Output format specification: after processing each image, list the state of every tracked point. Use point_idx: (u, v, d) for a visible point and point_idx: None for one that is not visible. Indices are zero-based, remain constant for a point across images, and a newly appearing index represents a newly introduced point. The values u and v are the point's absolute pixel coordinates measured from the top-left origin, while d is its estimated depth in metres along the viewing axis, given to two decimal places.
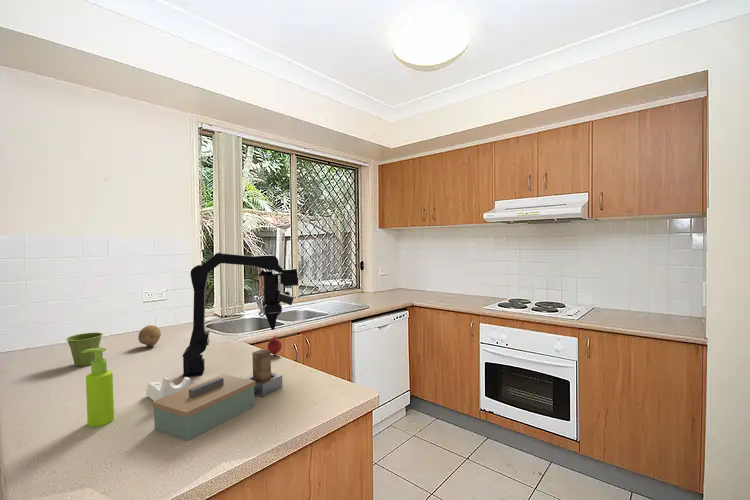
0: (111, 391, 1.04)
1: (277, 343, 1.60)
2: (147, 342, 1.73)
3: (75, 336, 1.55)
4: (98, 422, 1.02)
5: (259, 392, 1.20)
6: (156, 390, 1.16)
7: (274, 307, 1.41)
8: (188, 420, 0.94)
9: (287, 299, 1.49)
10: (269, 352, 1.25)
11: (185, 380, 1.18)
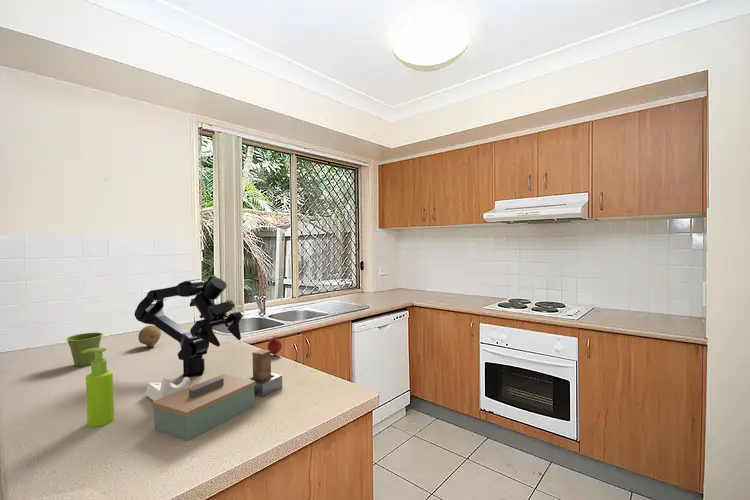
0: (111, 391, 1.04)
1: (277, 343, 1.60)
2: (147, 342, 1.73)
3: (75, 336, 1.55)
4: (98, 422, 1.02)
5: (259, 392, 1.20)
6: (156, 390, 1.16)
7: (194, 326, 1.27)
8: (188, 420, 0.94)
9: (216, 308, 1.32)
10: (269, 352, 1.25)
11: (185, 380, 1.18)
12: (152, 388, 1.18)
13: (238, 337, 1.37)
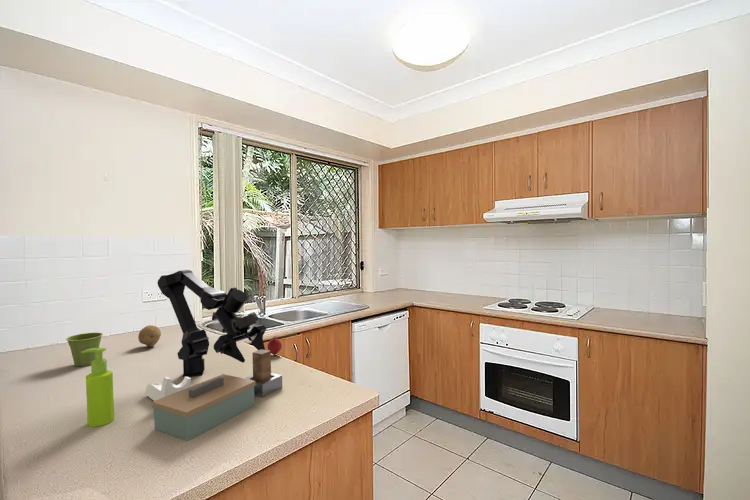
0: (111, 391, 1.04)
1: (277, 343, 1.60)
2: (147, 342, 1.73)
3: (75, 336, 1.55)
4: (98, 422, 1.02)
5: (259, 392, 1.20)
6: (156, 390, 1.16)
7: (217, 342, 1.21)
8: (188, 420, 0.94)
9: (240, 322, 1.25)
10: (269, 352, 1.25)
11: (186, 379, 1.19)
12: (152, 388, 1.18)
13: None
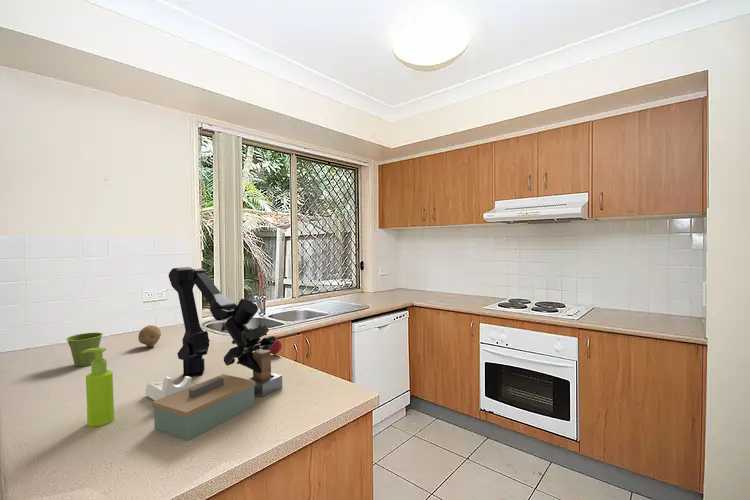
0: (111, 391, 1.04)
1: (277, 343, 1.60)
2: (147, 342, 1.73)
3: (75, 336, 1.55)
4: (98, 422, 1.02)
5: (259, 392, 1.20)
6: (157, 390, 1.16)
7: (227, 354, 1.19)
8: (188, 420, 0.94)
9: (250, 334, 1.23)
10: (269, 352, 1.25)
11: (186, 379, 1.19)
12: (152, 388, 1.18)
13: None
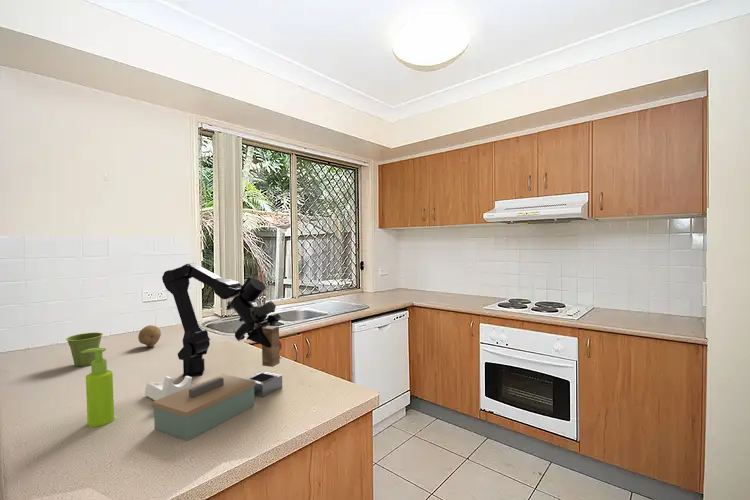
0: (111, 391, 1.04)
1: None
2: (147, 342, 1.73)
3: (75, 336, 1.55)
4: (98, 422, 1.02)
5: (259, 392, 1.20)
6: (157, 389, 1.17)
7: (239, 330, 1.22)
8: (188, 420, 0.94)
9: (260, 310, 1.27)
10: (278, 328, 1.29)
11: (187, 379, 1.19)
12: (152, 388, 1.19)
13: None
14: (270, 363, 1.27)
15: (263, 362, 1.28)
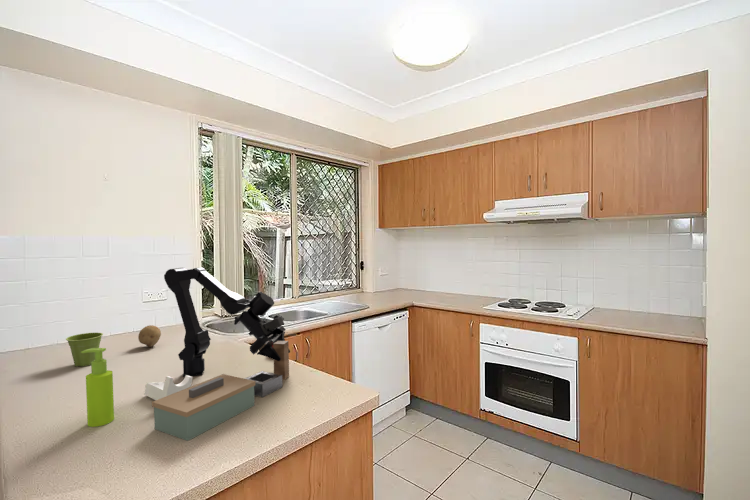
0: (111, 391, 1.04)
1: None
2: (147, 342, 1.73)
3: (75, 336, 1.55)
4: (98, 422, 1.02)
5: (259, 392, 1.20)
6: (158, 389, 1.17)
7: (255, 344, 1.27)
8: (188, 420, 0.94)
9: (271, 324, 1.33)
10: (287, 342, 1.37)
11: (187, 378, 1.20)
12: (152, 388, 1.19)
13: None
14: (283, 376, 1.34)
15: None
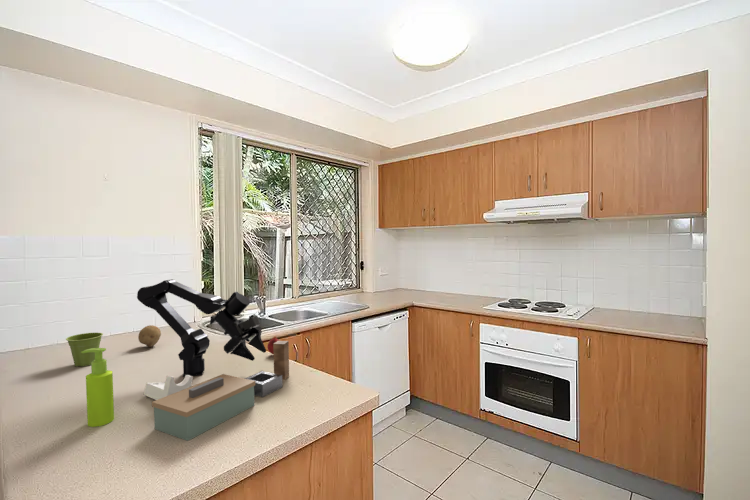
0: (111, 391, 1.04)
1: None
2: (147, 342, 1.73)
3: (75, 336, 1.55)
4: (98, 422, 1.02)
5: (259, 392, 1.20)
6: (158, 389, 1.17)
7: (229, 343, 1.28)
8: (188, 420, 0.94)
9: (246, 324, 1.35)
10: (288, 342, 1.37)
11: (187, 378, 1.20)
12: (152, 387, 1.19)
13: (263, 350, 1.41)
14: (283, 376, 1.34)
15: None
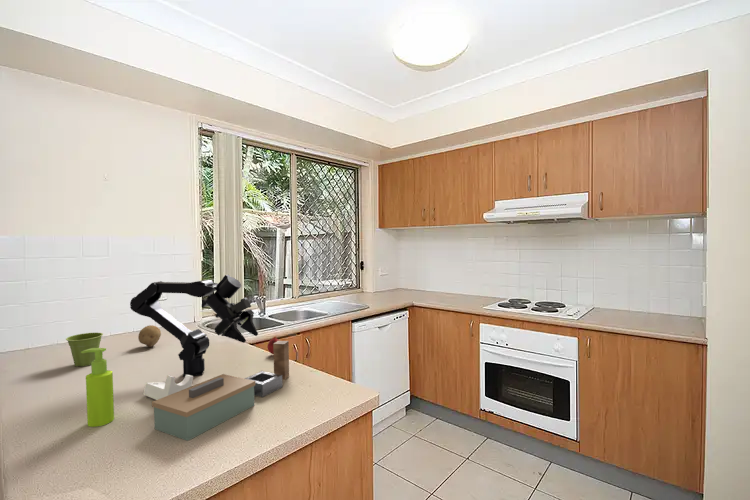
0: (111, 391, 1.04)
1: None
2: (147, 342, 1.73)
3: (75, 336, 1.55)
4: (98, 422, 1.02)
5: (259, 392, 1.20)
6: (158, 389, 1.17)
7: (220, 325, 1.29)
8: (188, 420, 0.94)
9: (237, 306, 1.35)
10: (288, 342, 1.37)
11: (188, 377, 1.20)
12: (152, 387, 1.19)
13: (255, 333, 1.42)
14: (283, 376, 1.34)
15: None
